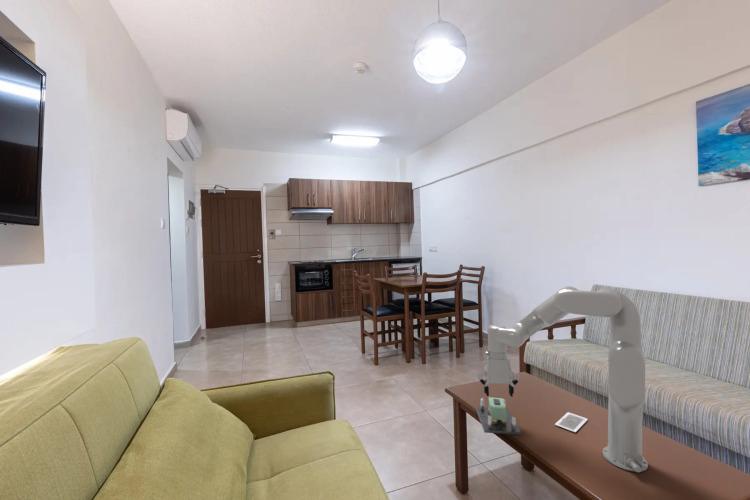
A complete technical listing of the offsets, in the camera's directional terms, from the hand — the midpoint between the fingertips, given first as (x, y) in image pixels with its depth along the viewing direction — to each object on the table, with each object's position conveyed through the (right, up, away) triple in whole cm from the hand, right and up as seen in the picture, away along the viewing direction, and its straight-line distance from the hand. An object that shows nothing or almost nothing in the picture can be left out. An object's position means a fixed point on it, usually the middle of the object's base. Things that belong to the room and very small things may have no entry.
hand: (499, 395), depth 141 cm
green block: (-1, -8, 0) cm, 8 cm away
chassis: (-1, -12, +1) cm, 12 cm away
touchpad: (+30, -12, -1) cm, 33 cm away
